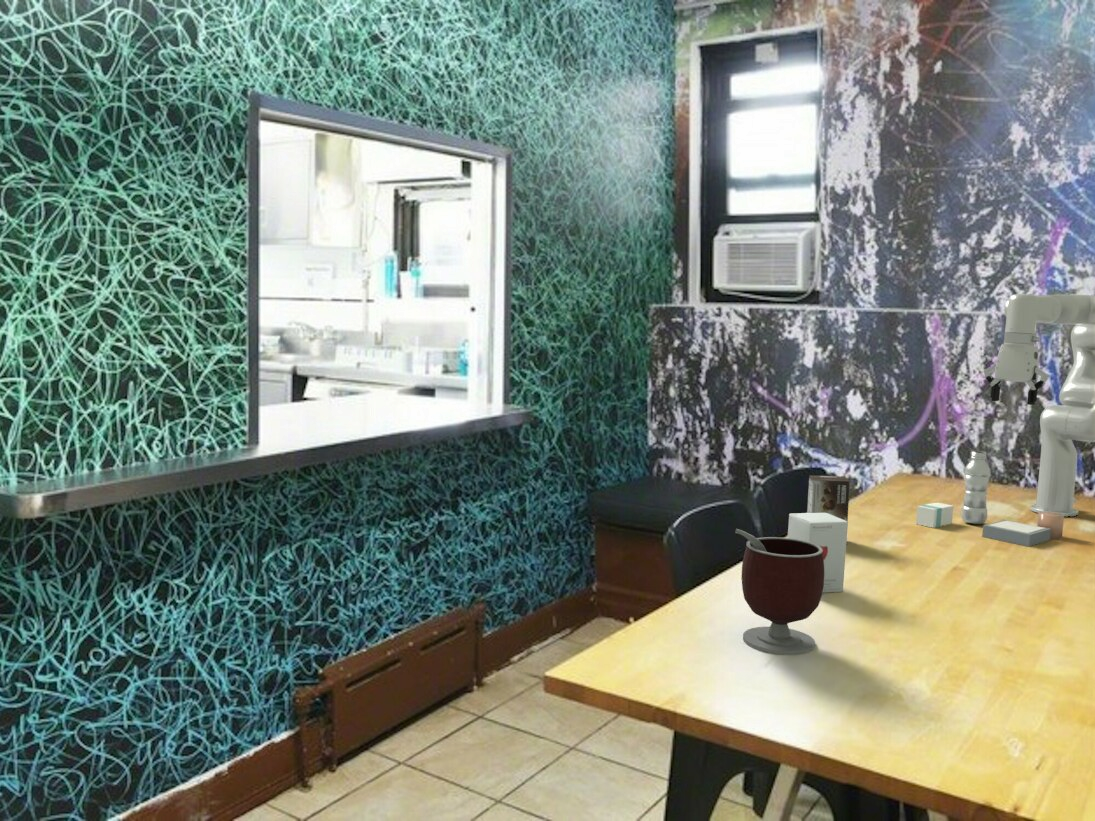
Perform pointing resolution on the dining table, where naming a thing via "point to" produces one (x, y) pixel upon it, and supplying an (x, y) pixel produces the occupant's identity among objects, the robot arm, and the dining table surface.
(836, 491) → the coffee box
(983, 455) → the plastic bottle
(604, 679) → the dining table surface
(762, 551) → the mate gourd
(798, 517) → the supplement box
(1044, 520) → the pink smooth rounded part
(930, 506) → the lying carton
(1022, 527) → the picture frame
